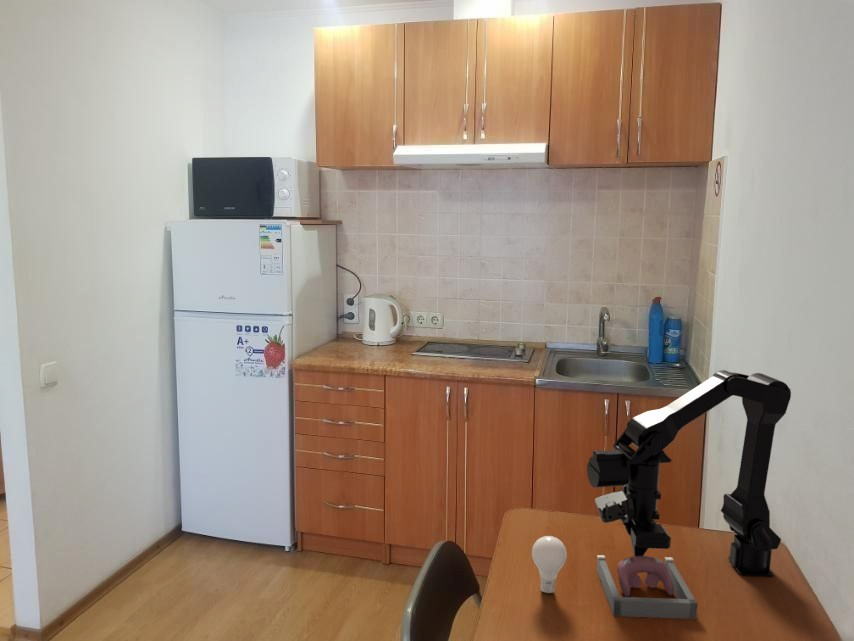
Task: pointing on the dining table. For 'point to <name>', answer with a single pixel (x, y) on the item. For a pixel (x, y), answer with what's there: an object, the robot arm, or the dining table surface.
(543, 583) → the lightbulb
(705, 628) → the dining table surface
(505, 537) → the dining table surface
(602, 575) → the pocket
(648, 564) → the video game controller
